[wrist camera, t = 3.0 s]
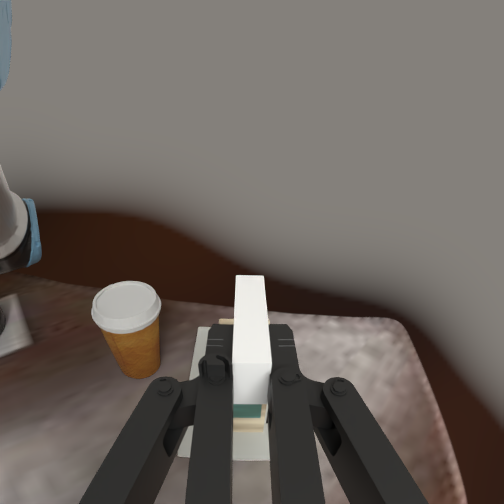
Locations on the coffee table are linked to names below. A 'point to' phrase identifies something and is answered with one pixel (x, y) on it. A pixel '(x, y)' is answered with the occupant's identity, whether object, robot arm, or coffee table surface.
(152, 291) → the disposable coffee cup
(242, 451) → the mat
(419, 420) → the coffee table surface
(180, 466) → the coffee table surface
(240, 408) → the block
